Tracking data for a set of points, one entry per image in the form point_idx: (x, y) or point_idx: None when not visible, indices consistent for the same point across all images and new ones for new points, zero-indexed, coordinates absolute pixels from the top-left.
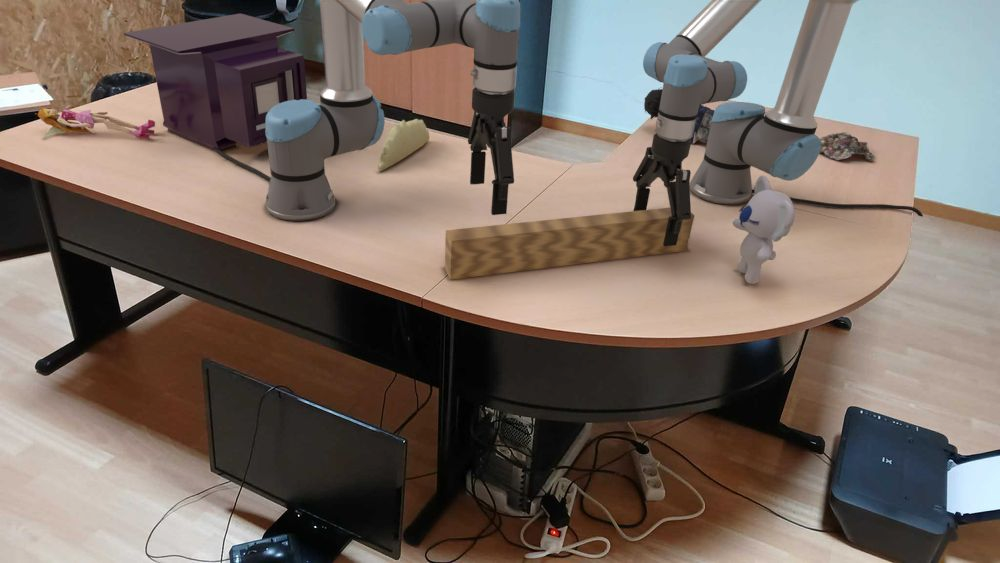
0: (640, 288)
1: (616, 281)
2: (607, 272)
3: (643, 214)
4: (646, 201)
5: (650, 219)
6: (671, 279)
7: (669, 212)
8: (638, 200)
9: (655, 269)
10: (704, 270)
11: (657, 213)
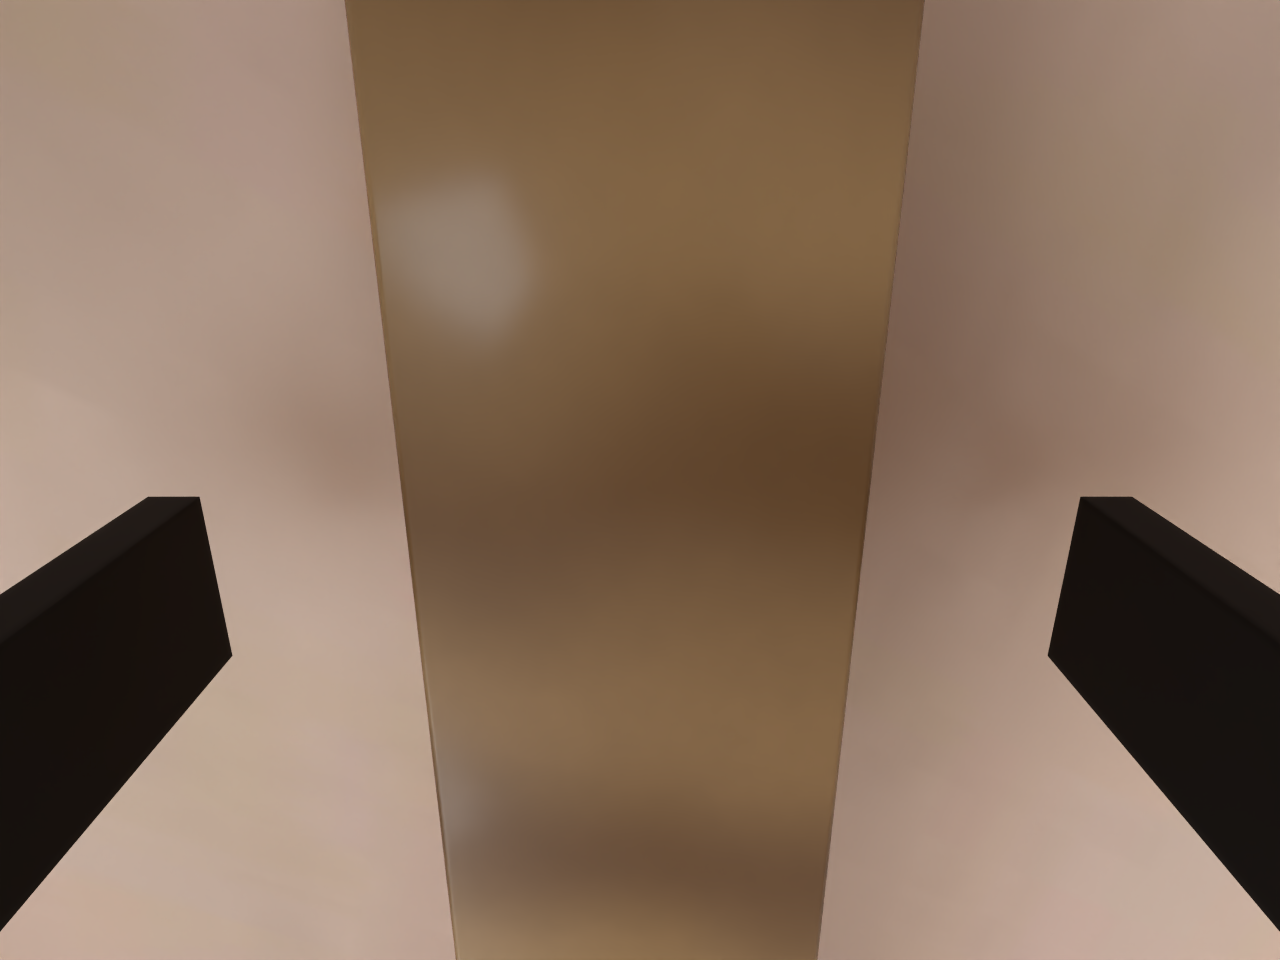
0: (1185, 820)
1: (1021, 924)
2: (884, 932)
3: (610, 949)
4: (30, 654)
5: (811, 925)
6: (1200, 532)
7: (634, 482)
8: (56, 839)
9: (989, 586)
10: (1235, 76)
11: (626, 731)
